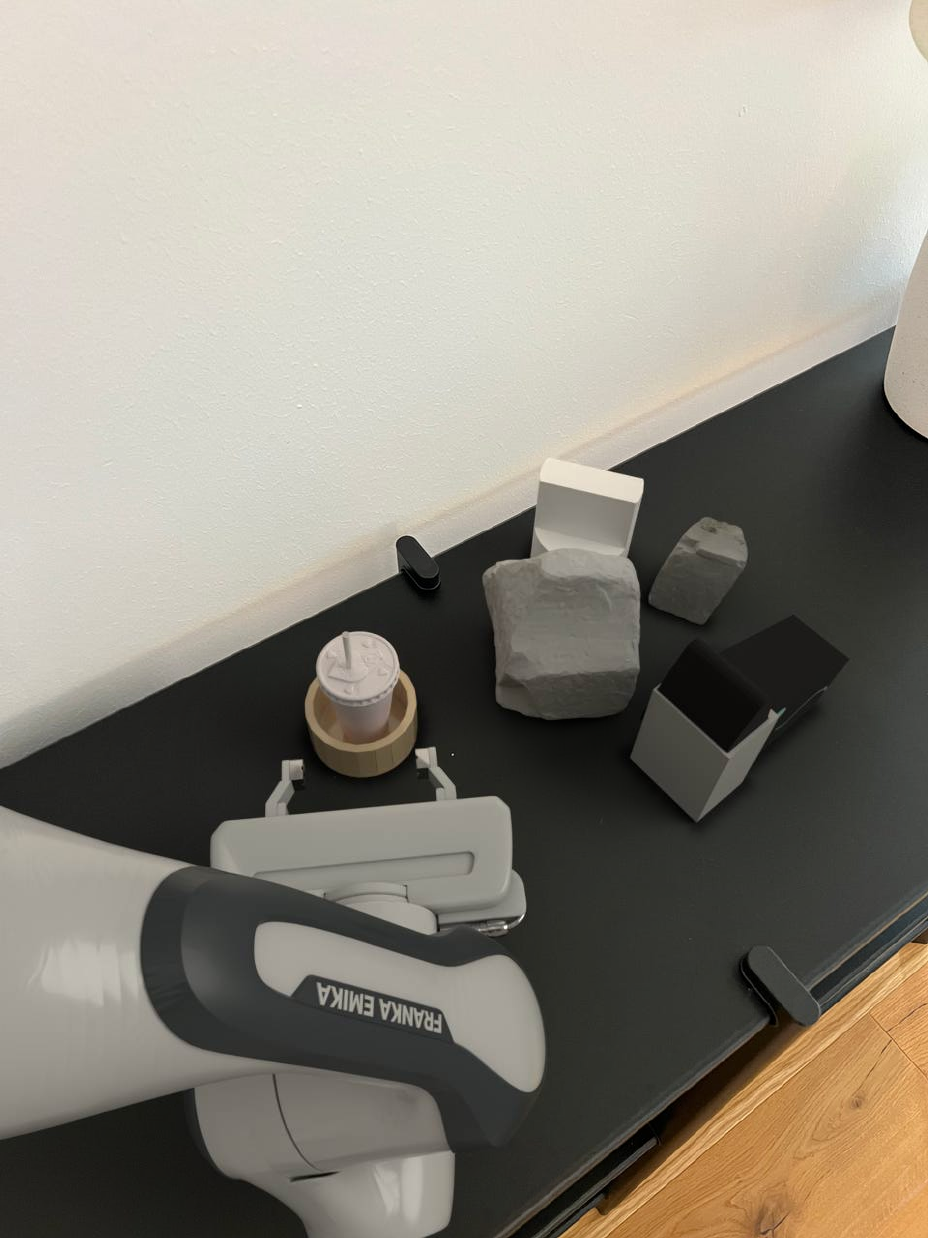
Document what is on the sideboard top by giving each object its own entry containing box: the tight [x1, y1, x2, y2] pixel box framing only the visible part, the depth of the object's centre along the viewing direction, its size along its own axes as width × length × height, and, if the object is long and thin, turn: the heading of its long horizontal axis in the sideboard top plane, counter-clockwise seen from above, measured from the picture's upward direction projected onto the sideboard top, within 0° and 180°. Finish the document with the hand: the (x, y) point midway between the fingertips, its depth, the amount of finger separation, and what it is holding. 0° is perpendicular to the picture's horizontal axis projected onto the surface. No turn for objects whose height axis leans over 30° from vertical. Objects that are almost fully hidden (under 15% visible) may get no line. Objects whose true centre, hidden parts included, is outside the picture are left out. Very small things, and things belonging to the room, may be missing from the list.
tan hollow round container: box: [304, 668, 418, 778], centre depth 79 cm, size 9×9×4 cm
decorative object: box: [629, 614, 850, 823], centre depth 76 cm, size 8×18×15 cm, turn 130°
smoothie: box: [315, 631, 401, 745], centre depth 75 cm, size 6×6×14 cm
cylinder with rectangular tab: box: [529, 457, 645, 559], centre depth 87 cm, size 9×9×12 cm
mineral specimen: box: [647, 516, 749, 625], centre depth 87 cm, size 7×9×8 cm
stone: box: [481, 548, 641, 721], centre depth 79 cm, size 12×12×15 cm
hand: (359, 757), depth 68 cm, fingers open, 8 cm apart
